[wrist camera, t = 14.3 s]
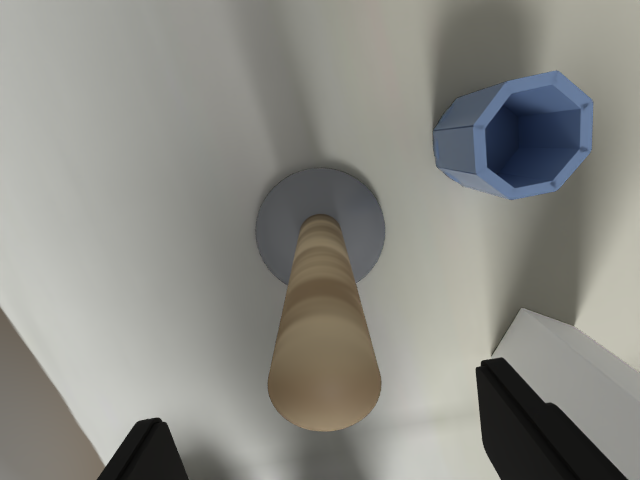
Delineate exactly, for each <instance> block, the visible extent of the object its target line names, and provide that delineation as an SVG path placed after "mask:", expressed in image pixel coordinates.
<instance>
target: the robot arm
mask: <svg viewBox="0 0 640 480" xmlns="http://www.w3.org/2000/svg"><path fill="white" fill-rule="evenodd" d="M476 379H477V390H478V400H479V411H480V421H481V432H482V441H483V445H484V448H485V451H486V453H487V455H488V457H489V459H490V461H491V463H492V464H493V466H494V468H495V470H496V472H497V473H498V475H499V477H500V479H501V480H628V479H627V478H626V477H625V476H624V475H623V474H622V473H621V472H620V471H619V469H618V468H617V467H616V466H615V465H614V464H613V463H612V462H611V461H610V460H609V459H608V458H607V457H606V456H605V455H604V454H603V453H602V452H601V451H600V450H599V449H598V448H597V446H596V445H595V444H594V443H593V442H592V441H591V440H590V439H589V438H588V437H587V436H586V435H585V434H584V433H583V432H582V431H581V430H580V429H579V428H578V427H577V426H576V425H575V424H574V422H573V421H572V420H571V419H570V418H569V417H568V416H567V415H566V414H565V413H564V412H563V411H562V410H561V409H560V408H559V407H558V406H557V405H555V404H553V403H551V402H549V403H545V402H544V401H543V400H542V399H541V398H540V397H539V396H538V395H537V393H536V392H535V391H534V390H533V389H532V388H531V387H530V386H529V385H528V384H527V383H526V381H525V380H524V379H523V378H522V377H521V376H520V375H519V374H518V373H517V372H516V371H515V369H514V368H513V367H512V366H511V365H510V364H509V363H508V362H507V361H506V360H505V359H504V358H502V357H500V358H494V359H489V360H483V361H481V366H480V367H476ZM97 480H189V479H188V476H187V474H186V471H185V469H184V466H183V463H182V461H181V458H180V456H179V453H178V451H177V448H176V445H175V443H174V440H173V438H172V435H171V433H170V430H169V427H168V425H167V423H166V422H162V420H161V419H160V418H152V419H146V420H141V421H138V422H137V423H136V424H135V425H134V426H133V428H132V429H131V431H130V432H129V434H128V435H127V437H126V438H125V439H124V441H123V442H122V444H121V445H120V447H119V448H118V450H117V451H116V453H115V454H114V455H113V457H112V458H111V460H110V461H109V463H108V464H107V466H106V467H105V469H104V470H103V472H102V473H101V474H100V476H99V477H98V479H97Z"/></svg>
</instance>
